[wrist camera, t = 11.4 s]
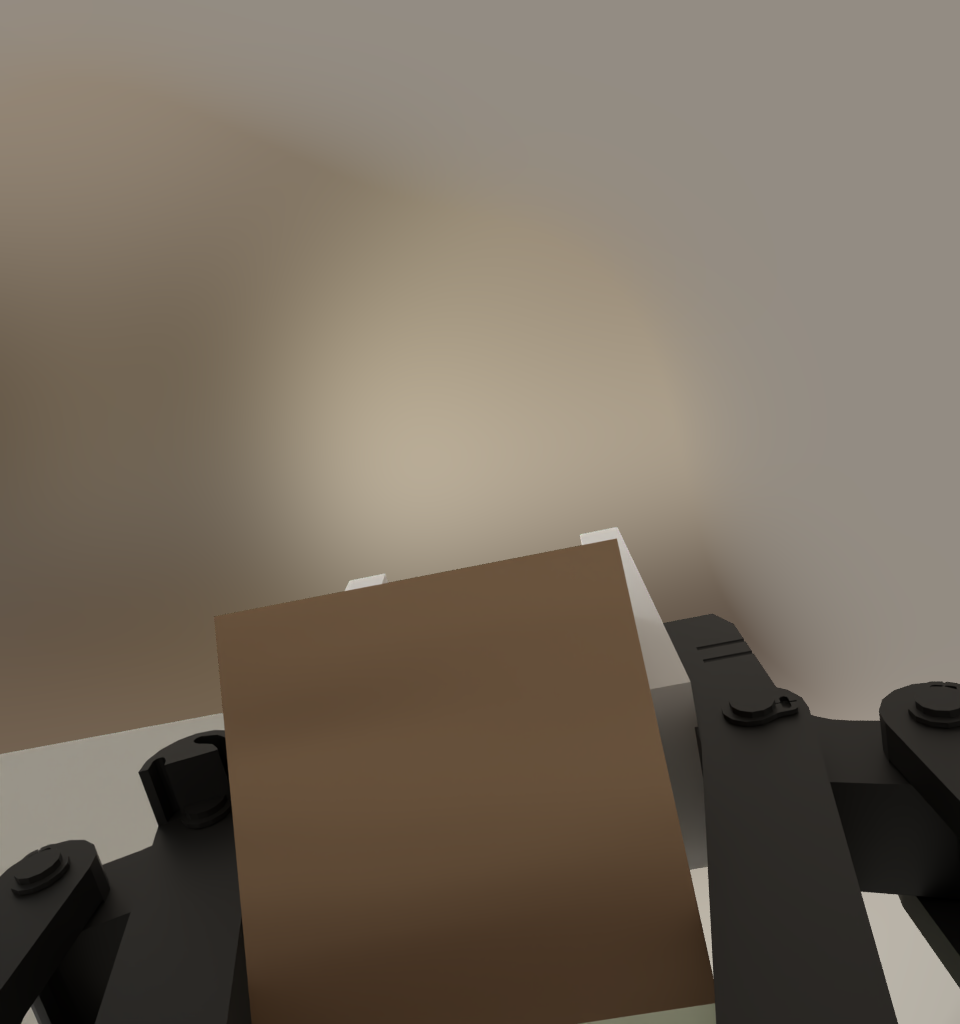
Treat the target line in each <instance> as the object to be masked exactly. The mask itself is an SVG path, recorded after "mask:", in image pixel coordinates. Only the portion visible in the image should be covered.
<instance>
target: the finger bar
mask: <svg viewBox="0 0 960 1024" xmlns="http://www.w3.org/2000/svg"><path fill="white" fill-rule="evenodd" d="M214 620H215V630H216V641H217V653H218V663H219V674H220V685H221V696H222V706H223V718H224V729H225V739H226V750H227V761H228V772H229V783H230V794H231V805H232V815H233V826H234V837H235V848H236V859H237V870H238V881H239V891H240V902H241V913H242V924H243V935H244V946H245V957H246V967H247V978H248V989H249V1000H250V1011H251V1022H252V1024H580V1023H587V1022H593V1021H600V1020H607V1019H613V1018H620V1017H627V1016H633V1015H640V1014H647V1013H653V1012H660V1011H667V1010H673V1009H680V1008H687V1007H693V1006H700V1005H707V1004H713V1003H715V994H714V979H713V974H712V969H711V965H710V960H709V956H708V951H707V947H706V942H705V938H704V933H703V928H702V924H701V920H700V915H699V910H698V906H697V901H696V897H695V892H694V887H693V883H692V878H691V874H690V869H689V865H688V860H687V855H686V851H685V846H684V842H683V837H682V833H681V828H680V824H679V819H678V814H677V810H676V805H675V801H674V796H673V792H672V787H671V783H670V778H669V773H668V769H667V764H666V760H665V755H664V751H663V746H662V742H661V737H660V732H659V728H658V723H657V719H656V714H655V710H654V705H653V701H652V696H651V691H650V687H649V682H648V678H647V673H646V669H645V664H644V660H643V655H642V650H641V646H640V641H639V637H638V632H637V628H636V623H635V618H634V614H633V609H632V605H631V600H630V596H629V591H628V587H627V582H626V577H625V573H624V568H623V564H622V559H621V555H620V550H619V546H618V541H617V538H616V539H611V540H606V541H601V542H596V543H590V544H585V545H580V546H575V547H570V548H565V549H560V550H554V551H549V552H544V553H539V554H534V555H529V556H523V557H518V558H513V559H508V560H503V561H498V562H492V563H488V564H482V565H477V566H472V567H467V568H461V569H456V570H452V571H446V572H441V573H436V574H431V575H425V576H421V577H415V578H410V579H405V580H400V581H395V582H389V583H384V584H379V585H374V586H369V587H363V588H358V589H353V590H348V591H343V592H338V593H332V594H328V595H322V596H317V597H312V598H307V599H302V600H296V601H291V602H286V603H281V604H276V605H271V606H265V607H260V608H255V609H250V610H245V611H240V612H234V613H230V614H224V615H220V616H214Z"/></svg>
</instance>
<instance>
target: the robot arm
mask: <svg viewBox="0 0 960 1024" xmlns="http://www.w3.org/2000/svg"><path fill="white" fill-rule="evenodd" d="M580 538H581V543H582V545H585V544H590V543H596V542H601V541H606V540H611V539H616V538H617V541H618V546H619V550H620V555H621V559H622V564H623V568H624V573H625V577H626V582H627V587H628V591H629V596H630V600H631V605H632V609H633V614H634V618H635V623H636V628H637V632H638V637H639V641H640V646H641V650H642V655H643V660H644V664H645V669H646V673H647V678H648V682H649V687H650V691H651V696H652V701H653V705H654V710H655V714H656V719H657V723H658V728H659V732H660V737H661V742H662V746H663V751H664V755H665V760H666V764H667V769H668V773H669V778H670V783H671V787H672V792H673V796H674V801H675V805H676V810H677V814H678V819H679V824H680V828H681V833H682V837H683V842H684V846H685V851H686V855H687V860H688V865H689V869H690V870H691V869H697V868H703V867H708V879H709V898H710V917H711V934H712V935H711V936H712V956H713V974H714V994H715V1013H716V1024H898V1022H897V1018H896V1015H895V1011H894V1008H893V1004H892V1001H891V997H890V994H889V990H888V986H887V983H886V979H885V976H884V972H883V969H882V965H881V962H880V958H879V955H878V951H877V948H876V944H875V940H874V937H873V934H872V930H871V926H870V923H869V919H868V916H867V912H866V909H865V905H864V902H863V898H862V894H861V892H862V891H863V892H874V893H887V894H898V895H899V898H900V900H901V903H902V905H903V907H904V909H905V910H906V912H907V913H908V914H909V916H910V917H911V919H912V920H913V922H914V923H915V925H916V926H917V928H918V929H919V930H920V932H921V933H922V935H923V936H924V938H925V939H926V940H927V942H928V943H929V945H930V946H931V948H932V949H933V950H934V952H935V953H936V955H937V956H938V958H939V959H940V961H941V962H942V963H943V965H944V966H945V968H946V969H947V970H948V972H949V973H950V975H951V976H952V978H953V979H954V981H955V982H956V983H957V985H958V986H959V987H960V684H957V683H951V682H946V683H943V682H928V683H921V684H912V685H909V686H906V687H903V688H900V689H897V690H894V691H893V692H891V693H890V694H889V695H888V696H886V697H885V698H884V699H883V700H882V703H881V706H880V709H879V713H880V714H879V715H880V721H847V720H832V719H826V718H821V717H816V716H813V715H811V714H810V710H809V707H808V706H807V704H806V703H805V702H804V700H803V699H802V697H800V696H798V695H796V694H794V693H792V692H790V691H788V690H786V689H781V688H777V687H776V686H775V685H774V683H773V682H772V680H771V679H770V677H769V676H768V674H767V673H766V671H765V670H764V668H763V667H762V665H761V664H760V662H759V661H758V659H757V658H756V657H755V655H754V654H752V651H751V649H750V648H749V646H748V645H747V643H746V642H744V639H743V637H742V636H741V634H740V633H739V631H738V630H737V628H736V627H735V626H734V624H733V623H730V622H728V621H726V620H724V619H722V618H720V617H718V616H716V615H714V614H709V615H703V616H699V617H693V618H688V619H683V620H677V621H673V622H667V623H662V620H661V618H660V616H659V614H658V612H657V610H656V608H655V606H654V603H653V601H652V599H651V597H650V595H649V593H648V591H647V589H646V587H645V584H644V582H643V580H642V578H641V576H640V574H639V572H638V570H637V568H636V566H635V563H634V561H633V559H632V557H631V555H630V553H629V551H628V549H627V546H626V544H625V542H624V540H623V538H622V536H621V534H620V532H619V530H618V528H617V527H615V528H610V529H605V530H600V531H595V532H590V533H585V534H580ZM384 583H388V581H387V578H386V574H381V575H376V576H371V577H366V578H361V579H356V580H351V581H349V583H348V585H347V587H346V589H345V591H348V590H353V589H358V588H363V587H369V586H374V585H379V584H384ZM138 773H139V776H140V778H141V781H142V784H143V786H144V789H145V792H146V794H147V797H148V800H149V802H150V805H151V808H152V810H153V813H154V816H155V818H156V821H157V824H158V829H157V832H156V835H155V838H154V841H153V844H152V846H150V847H147V848H145V849H143V850H140V851H138V852H135V853H132V854H130V855H127V856H124V857H122V858H119V859H116V860H114V861H111V862H108V863H106V864H103V865H102V863H101V860H100V858H99V855H98V853H97V850H96V848H95V845H94V844H92V843H90V842H88V841H86V840H68V841H64V842H60V843H56V844H49V845H47V846H44V847H41V848H40V850H38V849H37V850H35V851H33V852H31V853H29V854H27V855H26V856H25V857H24V858H23V859H22V860H20V861H19V862H17V863H16V864H14V865H13V866H11V867H10V868H8V869H7V870H6V871H5V872H4V873H3V874H2V875H1V876H0V1024H21V1023H22V1021H23V1018H24V1016H25V1015H26V1013H27V1012H28V1010H29V1009H30V1007H31V1009H32V1011H33V1013H34V1015H35V1017H36V1020H37V1022H38V1024H252V1022H251V1011H250V1000H249V989H248V978H247V967H246V957H245V946H244V935H243V924H242V913H241V902H240V891H239V881H238V870H237V859H236V848H235V837H234V826H233V815H232V805H231V794H230V783H229V772H228V761H227V750H226V739H225V730H212V731H206V732H201V733H196V734H194V735H191V736H188V737H185V738H183V739H180V740H177V741H176V742H174V743H172V744H170V745H168V746H167V747H165V748H163V749H161V750H159V751H158V752H157V753H156V754H155V755H153V756H152V757H151V758H150V759H148V760H147V761H146V762H145V764H144V765H143V766H142V768H141V769H140V771H139V772H138Z"/></svg>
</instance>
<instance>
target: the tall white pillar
mask: <svg viewBox="0 0 960 1024" xmlns="http://www.w3.org/2000/svg"><path fill="white" fill-rule="evenodd" d="M212 730H225V729H224V718H223V713H220V714H215V715H210V716H204V717H199V718H193V719H188V720H183V721H178V722H172V723H167V724H161V725H156V726H150V727H145V728H139V729H134V730H129V731H123V732H118V733H113V734H107V735H102V736H97V737H91V738H86V739H80V740H75V741H69V742H64V743H59V744H53V745H48V746H43V747H37V748H32V749H26V750H21V751H16V752H10V753H5V754H0V876H1V875H2V874H3V873H4V872H5V871H6V870H7V869H8V868H10V867H11V866H13V865H14V864H16V863H17V862H19V861H20V860H22V859H23V858H24V857H25V856H26V855H27V854H29V853H31V852H33V851H35V850H37V849H38V850H40V848H41V847H44V846H47V845H49V844H56V843H60V842H64V841H68V840H86V841H88V842H90V843H92V844H94V845H95V848H96V850H97V853H98V855H99V858H100V860H101V863H102V865H103V864H106V863H108V862H111V861H114V860H116V859H119V858H122V857H124V856H127V855H130V854H132V853H135V852H138V851H140V850H143V849H145V848H147V847H150V846H152V844H153V841H154V838H155V835H156V832H157V829H158V824H157V821H156V818H155V816H154V813H153V810H152V808H151V805H150V802H149V800H148V797H147V794H146V792H145V789H144V786H143V784H142V781H141V778H140V776H139V773H138V772H139V771H140V769H141V768H142V766H143V765H144V764H145V762H146V761H147V760H148V759H150V758H151V757H152V756H153V755H155V754H156V753H157V752H158V751H159V750H161V749H163V748H165V747H167V746H168V745H170V744H172V743H174V742H176V741H177V740H180V739H183V738H185V737H188V736H191V735H194V734H196V733H201V732H206V731H212ZM21 1024H38V1022H37V1020H36V1017H35V1015H34V1013H33V1011H32V1009H31V1007H30V1009H29V1010H28V1012H27V1013H26V1015H25V1016H24V1018H23V1021H22V1023H21Z"/></svg>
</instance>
